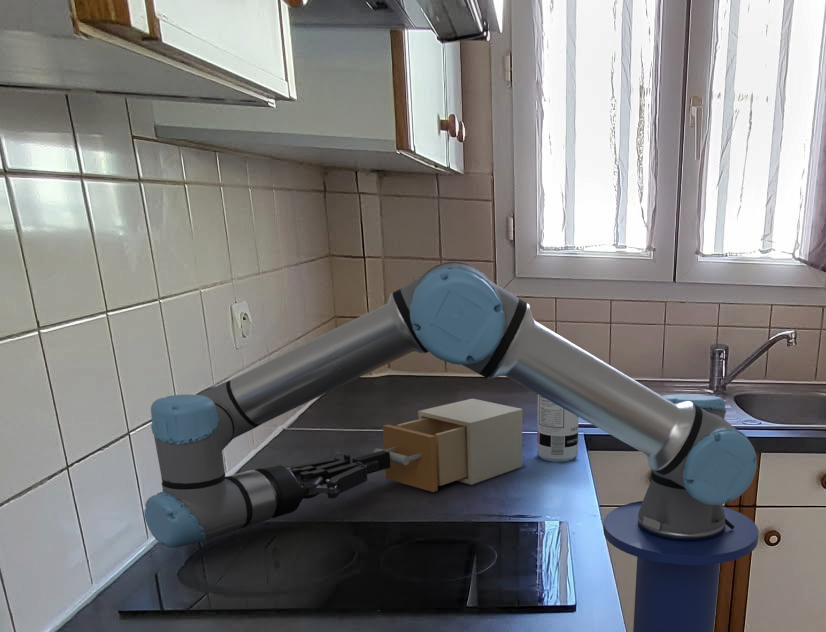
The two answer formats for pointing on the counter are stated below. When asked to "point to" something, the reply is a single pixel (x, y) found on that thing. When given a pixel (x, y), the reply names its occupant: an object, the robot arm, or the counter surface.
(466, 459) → the drawer
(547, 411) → the supplement can
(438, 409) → the cabinet
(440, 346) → the robot arm
